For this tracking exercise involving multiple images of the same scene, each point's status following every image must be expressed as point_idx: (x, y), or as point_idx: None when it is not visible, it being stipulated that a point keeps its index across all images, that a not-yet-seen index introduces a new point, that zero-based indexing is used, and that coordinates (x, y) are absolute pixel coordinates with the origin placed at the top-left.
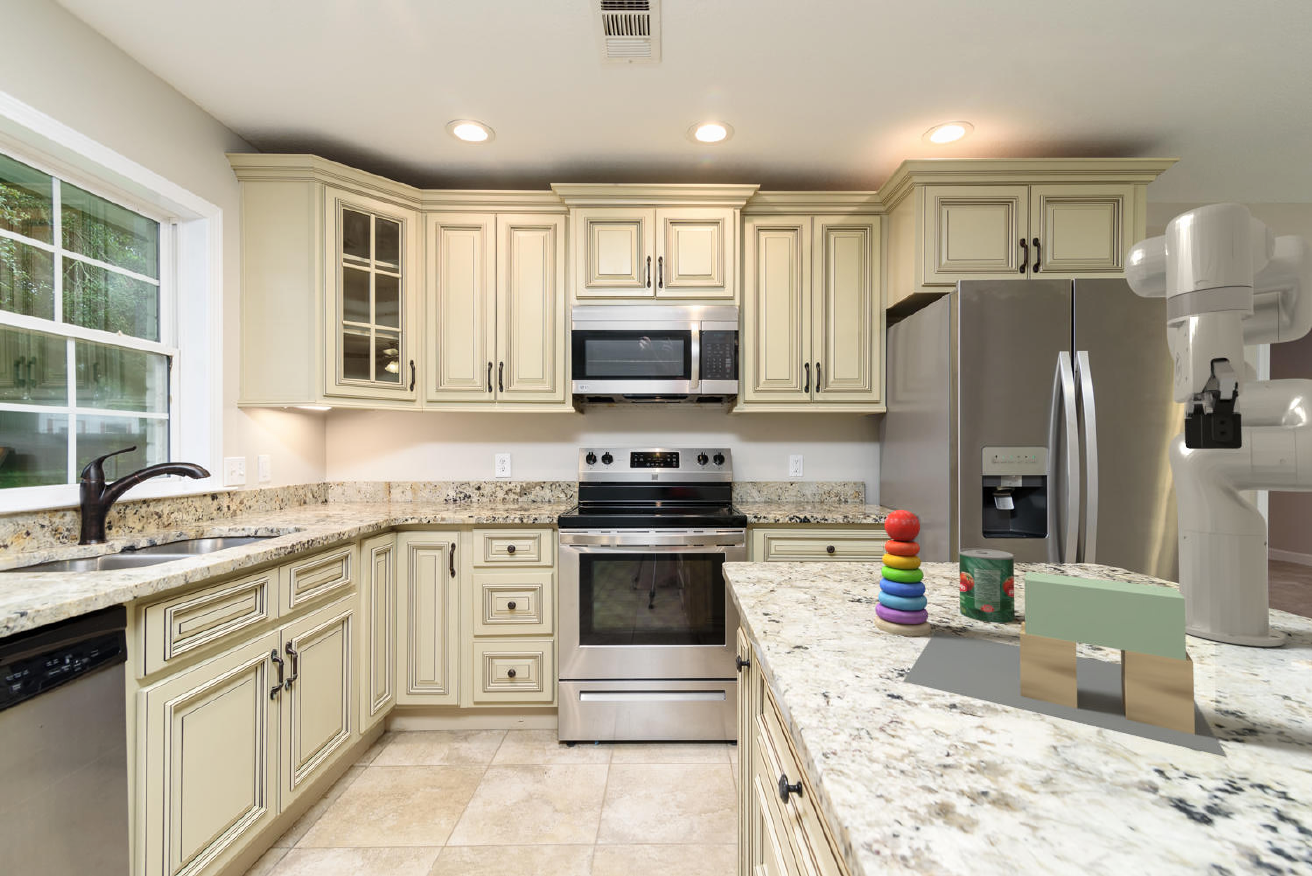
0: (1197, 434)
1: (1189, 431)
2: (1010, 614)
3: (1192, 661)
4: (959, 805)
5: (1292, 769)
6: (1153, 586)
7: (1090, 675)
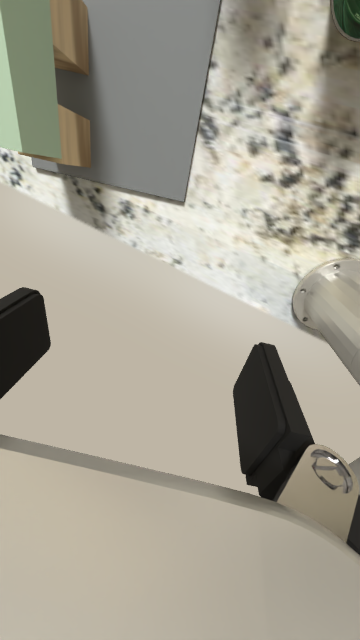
0: (253, 391)
1: (266, 386)
2: (347, 18)
3: (18, 153)
4: None
5: (54, 204)
6: (13, 124)
7: (143, 107)
